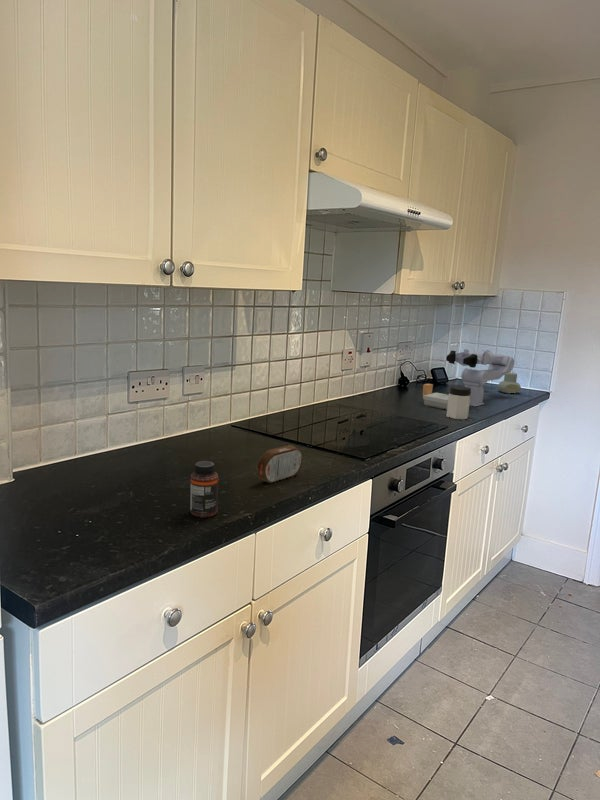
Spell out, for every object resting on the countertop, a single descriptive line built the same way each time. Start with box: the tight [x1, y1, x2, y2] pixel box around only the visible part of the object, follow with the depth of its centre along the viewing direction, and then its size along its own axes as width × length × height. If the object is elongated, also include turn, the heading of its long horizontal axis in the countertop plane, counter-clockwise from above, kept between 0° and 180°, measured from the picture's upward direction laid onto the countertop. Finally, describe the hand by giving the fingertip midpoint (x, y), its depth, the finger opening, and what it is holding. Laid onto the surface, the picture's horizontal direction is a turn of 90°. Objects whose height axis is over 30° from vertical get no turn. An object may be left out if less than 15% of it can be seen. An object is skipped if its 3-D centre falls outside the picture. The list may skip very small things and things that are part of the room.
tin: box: [256, 444, 304, 484], centre depth 155 cm, size 15×3×8 cm, turn 139°
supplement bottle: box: [189, 460, 219, 518], centre depth 130 cm, size 6×6×11 cm
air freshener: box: [497, 372, 522, 394], centre depth 303 cm, size 11×8×10 cm
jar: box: [445, 385, 471, 420], centre depth 240 cm, size 9×8×12 cm
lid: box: [422, 383, 471, 404], centre depth 259 cm, size 11×19×6 cm, turn 50°
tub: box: [423, 399, 448, 411], centre depth 259 cm, size 10×16×4 cm, turn 50°
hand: (455, 359), depth 250 cm, fingers open, 7 cm apart
